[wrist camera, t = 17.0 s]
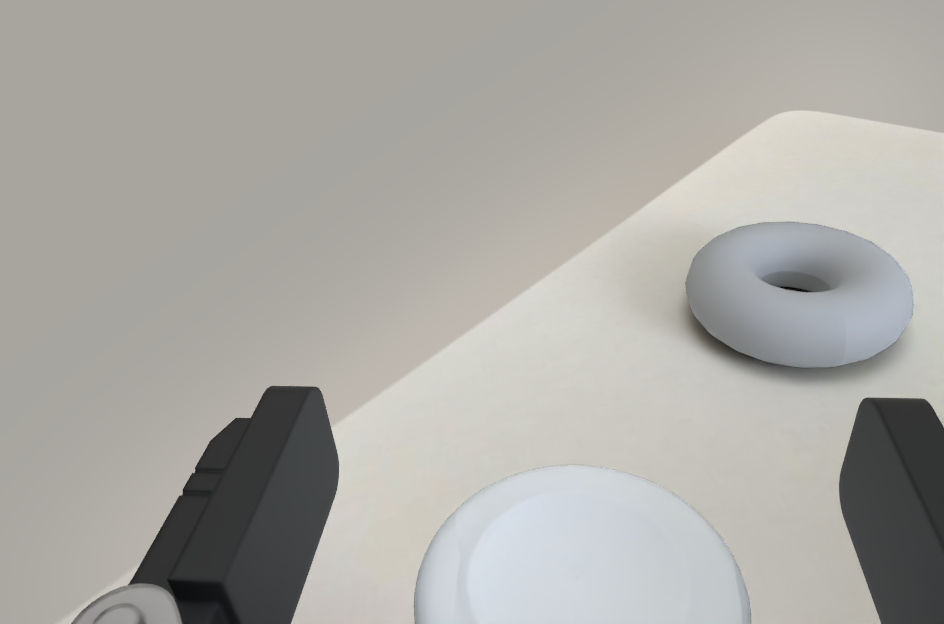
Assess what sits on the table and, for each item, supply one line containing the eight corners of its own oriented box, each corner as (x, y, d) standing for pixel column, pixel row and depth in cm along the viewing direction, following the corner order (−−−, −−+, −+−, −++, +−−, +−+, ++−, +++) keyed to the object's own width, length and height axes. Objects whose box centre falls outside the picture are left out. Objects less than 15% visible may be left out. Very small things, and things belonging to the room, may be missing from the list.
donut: (797, 250, 42) (643, 296, 39) (808, 194, 40) (647, 237, 37) (954, 345, 34) (775, 410, 31) (977, 280, 32) (790, 343, 30)
